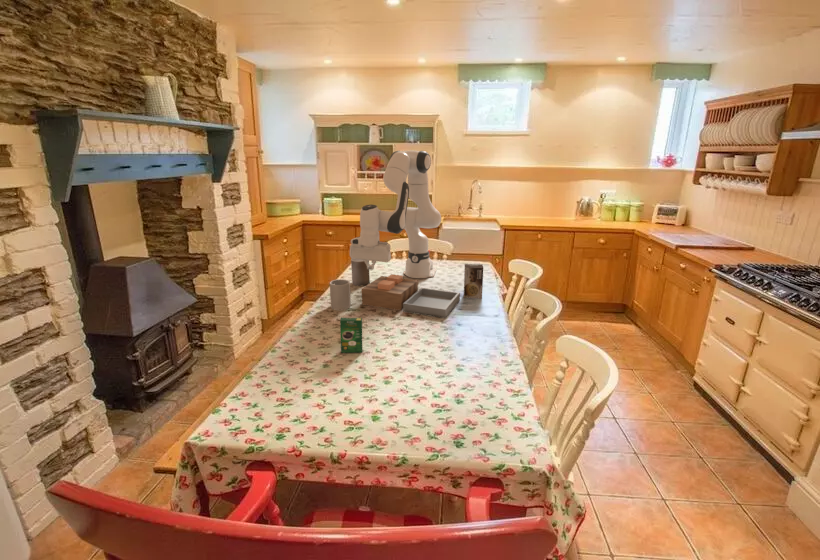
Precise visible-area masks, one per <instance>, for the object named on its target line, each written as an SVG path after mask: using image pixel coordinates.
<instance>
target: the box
mask: <svg viewBox="0 0 820 560" xmlns="http://www.w3.org/2000/svg"><path fill="white" fill-rule="evenodd" d="M460 297H461V292H458V291H448V290H442V289H434V288H428V287H427V288H426V287H420V288H418V291H417V292H416V293H415V294H414V295H412V296H411V297H410V298H409V299H408V300H407V301H405V302H404V303H403V309H402V312H404V313H408V314H415V315H416V314H417V315H421V314H422V315H423V316H429V317H434V316H435V318H441V319H446V318H447V317H448V316H449V314H450V313H451V312H452V311H453V309H454V308H455V306H457V305H458V303H459V302H460V301H461V299H460Z"/></svg>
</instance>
